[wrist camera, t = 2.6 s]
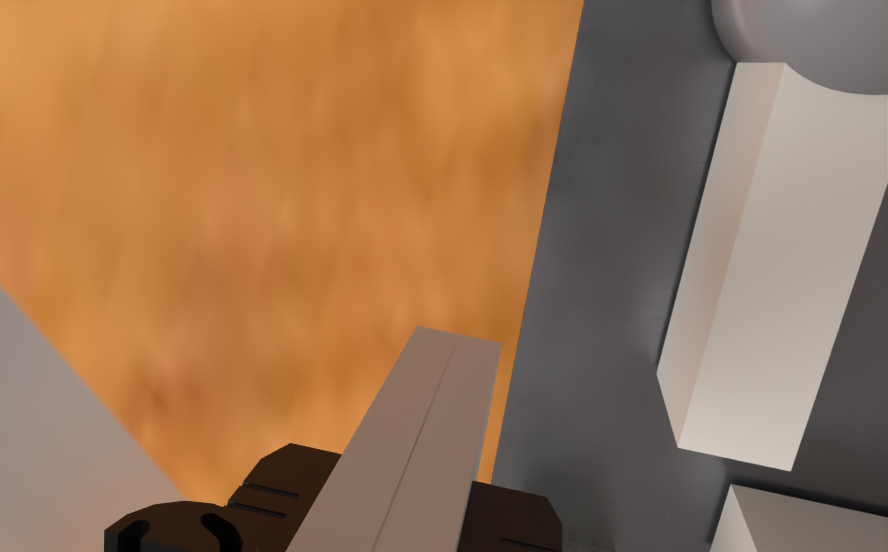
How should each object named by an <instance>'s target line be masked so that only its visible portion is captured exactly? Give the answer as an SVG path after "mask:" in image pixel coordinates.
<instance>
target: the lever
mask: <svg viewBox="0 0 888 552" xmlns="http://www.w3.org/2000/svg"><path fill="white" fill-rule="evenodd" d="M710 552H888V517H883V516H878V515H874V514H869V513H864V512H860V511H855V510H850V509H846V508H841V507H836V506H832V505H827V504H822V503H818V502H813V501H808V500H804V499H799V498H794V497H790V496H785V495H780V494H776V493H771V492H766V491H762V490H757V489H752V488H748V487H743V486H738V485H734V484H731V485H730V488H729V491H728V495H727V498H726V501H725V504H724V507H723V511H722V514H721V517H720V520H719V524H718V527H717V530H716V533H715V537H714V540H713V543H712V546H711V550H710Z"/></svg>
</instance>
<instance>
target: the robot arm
mask: <svg viewBox="0 0 888 552" xmlns="http://www.w3.org/2000/svg"><path fill="white" fill-rule="evenodd" d="M501 346H502V343H500V342H495V341H490V340H485V339H480V338H475V337H470V336H465V335H460V334H455V333H450V332H445V331H440V330H435V329H430V328H425V327H420V326H417V327H416V329H415V330H414V332H413V334H412V336H411V337H410V339H409V341H408V342H407V344H406V346H405V348H404V349H403V351H402V353H401V354H400V356H399V358H398V360H397V361H396V363H395V365H394V366H393V368H392V370H391V372H390V373H389V375H388V377H387V378H386V380H385V382H384V384H383V385H382V387H381V389H380V390H379V392H378V394H377V396H376V397H375V399H374V401H373V402H372V404H371V406H370V408H369V409H368V411H367V413H366V414H365V416H364V418H363V420H362V421H361V423H360V425H359V426H358V428H357V430H356V432H355V433H354V435H353V437H352V438H351V440H350V442H349V444H348V445H347V447H346V449H345V450H344V452H343V454H338V453H333V452H329V451H324V450H320V449H315V448H311V447H306V446H302V445H297V444H293V443H290V444H288V445H286V446H284V447H282V448H280V449H278V450H277V451H275V452H273V453H271V454H269V455H267V456H265V457H264V458H262V459H261V460H260V461H259V462H258V463H257V465H256V466H255V467H254V468H253V470H252V471H251V472H250V474H249V475H248V476H247V477H246V479H245V480H244V481H243V485H242V486H239V487H238V489H237V490H236V491H235V493H234V494H233V495H232V496H231V498H230V499H229V500H228V504H227V506H224V507H220V506H218V505H215V504H212V503H202V502H192V501H178V502H170V503H162V504H155V505H152V506H149V507H147V508H143V509H141V510H138V511H135V512H132V513H130V514H127V515H125V516H124V517H123V518H121V519H120V520H118V521H117V522H115V523H114V524H113V525H111V526H110V527H108V528H107V529H106V530H105V531H104V552H562V522H561V521H560V519H559V517H558V515H557V514H556V512H555V510H554V509H553V507H552V505H551V503H550V502H549V500H548V498H547V497H545V496H540V495H536V494H531V493H527V492H522V491H518V490H513V489H509V488H504V487H500V486H495V485H491V484H486V483H481V482H477V481H476V480H477V475H478V469H479V464H480V459H481V453H482V448H483V443H484V437H485V432H486V426H487V421H488V416H489V410H490V405H491V400H492V394H493V389H494V383H495V378H496V373H497V367H498V362H499V357H500V351H501Z"/></svg>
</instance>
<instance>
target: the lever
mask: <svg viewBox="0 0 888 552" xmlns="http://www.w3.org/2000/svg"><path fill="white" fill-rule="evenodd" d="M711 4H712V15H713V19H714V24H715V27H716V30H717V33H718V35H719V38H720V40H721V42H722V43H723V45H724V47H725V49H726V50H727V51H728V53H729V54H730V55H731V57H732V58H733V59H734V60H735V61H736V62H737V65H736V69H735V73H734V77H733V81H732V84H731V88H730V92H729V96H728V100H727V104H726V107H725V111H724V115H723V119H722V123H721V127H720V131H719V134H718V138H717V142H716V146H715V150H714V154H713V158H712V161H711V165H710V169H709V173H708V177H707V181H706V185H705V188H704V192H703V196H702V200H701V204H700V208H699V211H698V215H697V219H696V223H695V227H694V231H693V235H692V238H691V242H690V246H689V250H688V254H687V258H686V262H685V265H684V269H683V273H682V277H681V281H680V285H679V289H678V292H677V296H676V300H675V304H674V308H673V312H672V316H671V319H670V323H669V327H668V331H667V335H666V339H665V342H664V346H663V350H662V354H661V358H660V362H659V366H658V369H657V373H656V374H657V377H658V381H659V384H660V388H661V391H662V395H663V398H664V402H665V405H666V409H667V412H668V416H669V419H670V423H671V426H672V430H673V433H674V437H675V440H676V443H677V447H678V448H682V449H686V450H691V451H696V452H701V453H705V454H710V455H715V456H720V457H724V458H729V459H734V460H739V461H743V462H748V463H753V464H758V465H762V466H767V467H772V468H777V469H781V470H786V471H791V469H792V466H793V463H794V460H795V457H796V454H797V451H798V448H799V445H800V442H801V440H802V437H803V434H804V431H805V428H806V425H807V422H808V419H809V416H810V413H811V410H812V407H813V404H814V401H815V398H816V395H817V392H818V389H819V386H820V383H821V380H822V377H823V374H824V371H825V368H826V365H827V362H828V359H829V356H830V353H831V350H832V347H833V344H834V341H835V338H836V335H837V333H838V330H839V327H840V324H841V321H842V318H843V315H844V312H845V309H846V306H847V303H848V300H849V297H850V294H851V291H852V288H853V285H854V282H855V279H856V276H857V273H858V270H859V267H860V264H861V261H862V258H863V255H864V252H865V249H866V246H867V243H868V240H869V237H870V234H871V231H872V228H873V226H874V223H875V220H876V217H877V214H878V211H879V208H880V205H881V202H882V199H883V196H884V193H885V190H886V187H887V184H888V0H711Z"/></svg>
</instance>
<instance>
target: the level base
mask: <svg viewBox="0 0 888 552" xmlns="http://www.w3.org/2000/svg"><path fill="white" fill-rule="evenodd" d="M736 65H737V62H736V61H735V60H734V59H733V58H732V57H731V55H730V54H729V53H728V51H727V50H726V49H725V47H724V45H723V43H722V42H721V40H720V38H719V35H718V33H717V30H716V27H715V24H714V19H713V15H712V4H711V0H584V4H583V9H582V14H581V19H580V24H579V29H578V35H577V40H576V45H575V50H574V55H573V61H572V66H571V71H570V76H569V81H568V86H567V92H566V97H565V102H564V107H563V112H562V117H561V123H560V128H559V133H558V138H557V143H556V149H555V154H554V159H553V164H552V169H551V174H550V180H549V185H548V190H547V195H546V200H545V205H544V211H543V216H542V221H541V226H540V231H539V237H538V242H537V247H536V252H535V257H534V262H533V268H532V273H531V278H530V283H529V288H528V293H527V299H526V304H525V309H524V314H523V319H522V325H521V330H520V335H519V340H518V345H517V350H516V356H515V361H514V366H513V371H512V376H511V381H510V387H509V392H508V397H507V402H506V407H505V413H504V418H503V423H502V428H501V433H500V438H499V444H498V449H497V454H496V459H495V464H494V469H493V475H492V480H491V485H495V486H500V487H504V488H509V489H513V490H518V491H522V492H527V493H531V494H536V495H540V496H545V497H547V498H548V500H549V502H550V503H551V505H552V507H553V509H554V510H555V512H556V514H557V515H558V517H559V519H560V521H561V522H562V552H710V550H711V546H712V543H713V540H714V537H715V533H716V530H717V527H718V524H719V520H720V517H721V514H722V511H723V507H724V504H725V501H726V498H727V495H728V491H729V488H730V485H731V484H734V485H738V486H743V487H748V488H752V489H757V490H762V491H766V492H771V493H776V494H780V495H785V496H790V497H794V498H799V499H804V500H808V501H813V502H818V503H822V504H827V505H832V506H836V507H841V508H846V509H850V510H855V511H860V512H864V513H869V514H874V515H878V516H883V517H888V184H887V187H886V190H885V193H884V196H883V199H882V202H881V205H880V208H879V211H878V214H877V217H876V220H875V223H874V226H873V228H872V231H871V234H870V237H869V240H868V243H867V246H866V249H865V252H864V255H863V258H862V261H861V264H860V267H859V270H858V273H857V276H856V279H855V282H854V285H853V288H852V291H851V294H850V297H849V300H848V303H847V306H846V309H845V312H844V315H843V318H842V321H841V324H840V327H839V330H838V333H837V335H836V338H835V341H834V344H833V347H832V350H831V353H830V356H829V359H828V362H827V365H826V368H825V371H824V374H823V377H822V380H821V383H820V386H819V389H818V392H817V395H816V398H815V401H814V404H813V407H812V410H811V413H810V416H809V419H808V422H807V425H806V428H805V431H804V434H803V437H802V440H801V442H800V445H799V448H798V451H797V454H796V457H795V460H794V463H793V466H792V469H791V471H786V470H781V469H777V468H772V467H767V466H762V465H758V464H753V463H748V462H743V461H739V460H734V459H729V458H724V457H720V456H715V455H710V454H705V453H701V452H696V451H691V450H686V449H682V448H678V447H677V443H676V440H675V437H674V433H673V430H672V426H671V423H670V419H669V416H668V412H667V409H666V405H665V402H664V398H663V395H662V391H661V388H660V384H659V381H658V377H657V374H656V373H657V369H658V366H659V362H660V358H661V354H662V350H663V346H664V342H665V339H666V335H667V331H668V327H669V323H670V319H671V316H672V312H673V308H674V304H675V300H676V296H677V292H678V289H679V285H680V281H681V277H682V273H683V269H684V265H685V262H686V258H687V254H688V250H689V246H690V242H691V238H692V235H693V231H694V227H695V223H696V219H697V215H698V211H699V208H700V204H701V200H702V196H703V192H704V188H705V185H706V181H707V177H708V173H709V169H710V165H711V161H712V158H713V154H714V150H715V146H716V142H717V138H718V134H719V131H720V127H721V123H722V119H723V115H724V111H725V107H726V104H727V100H728V96H729V92H730V88H731V84H732V81H733V77H734V73H735V69H736Z"/></svg>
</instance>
